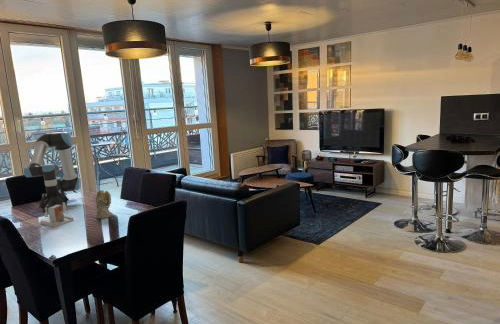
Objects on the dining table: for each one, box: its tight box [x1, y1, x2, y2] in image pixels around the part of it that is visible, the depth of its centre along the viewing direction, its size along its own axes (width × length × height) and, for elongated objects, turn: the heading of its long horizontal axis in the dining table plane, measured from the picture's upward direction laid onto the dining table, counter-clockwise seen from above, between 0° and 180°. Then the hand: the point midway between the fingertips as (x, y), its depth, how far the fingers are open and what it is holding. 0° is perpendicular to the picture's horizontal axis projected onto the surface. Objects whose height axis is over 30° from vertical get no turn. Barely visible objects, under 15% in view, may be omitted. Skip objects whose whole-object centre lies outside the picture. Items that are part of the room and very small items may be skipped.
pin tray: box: [40, 212, 74, 228], centre depth 247 cm, size 14×18×8 cm
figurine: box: [95, 190, 113, 220], centre depth 252 cm, size 12×12×20 cm
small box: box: [47, 205, 65, 222], centre depth 247 cm, size 8×6×10 cm
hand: (56, 213), depth 247 cm, fingers open, 13 cm apart
